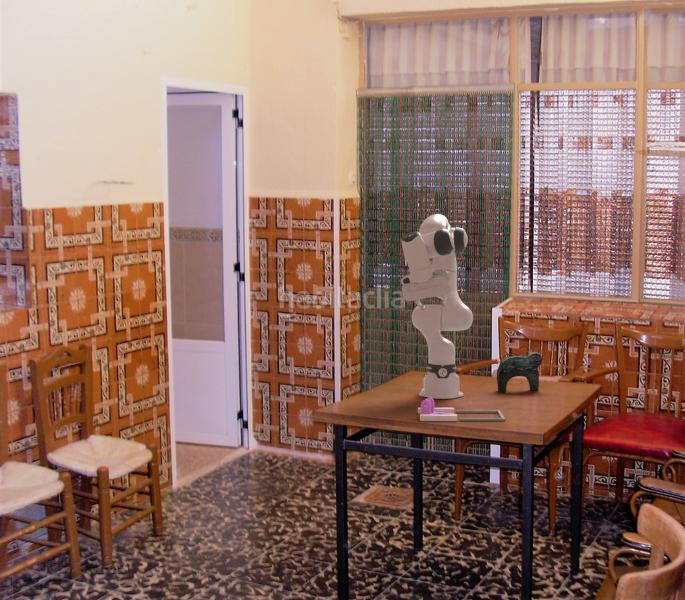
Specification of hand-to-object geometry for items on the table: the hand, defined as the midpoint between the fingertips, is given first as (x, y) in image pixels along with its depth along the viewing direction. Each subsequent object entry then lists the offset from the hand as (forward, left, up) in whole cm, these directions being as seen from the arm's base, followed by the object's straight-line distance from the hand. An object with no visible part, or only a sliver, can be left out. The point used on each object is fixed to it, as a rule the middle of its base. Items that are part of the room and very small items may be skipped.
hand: (433, 307), depth 375 cm
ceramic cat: (-49, +41, -42) cm, 77 cm away
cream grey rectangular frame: (+3, +10, -42) cm, 43 cm away
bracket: (+3, +2, -42) cm, 42 cm away
